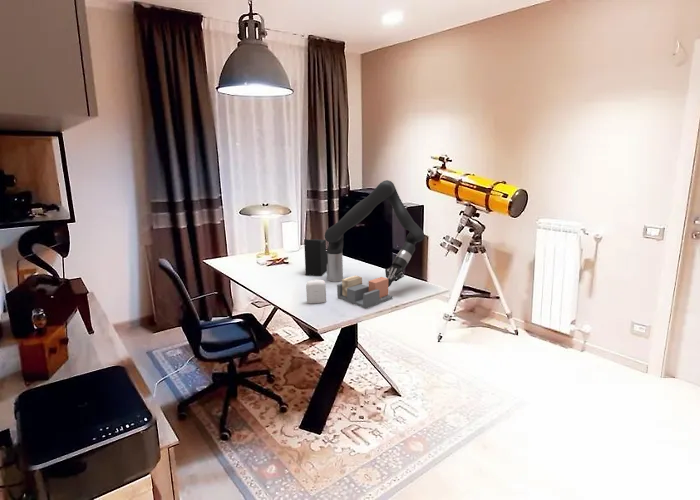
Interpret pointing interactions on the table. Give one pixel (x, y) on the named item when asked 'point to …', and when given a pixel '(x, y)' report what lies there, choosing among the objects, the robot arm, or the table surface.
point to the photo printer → (316, 291)
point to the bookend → (315, 257)
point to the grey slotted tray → (362, 296)
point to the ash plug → (350, 283)
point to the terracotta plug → (379, 285)
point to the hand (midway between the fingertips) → (386, 285)
